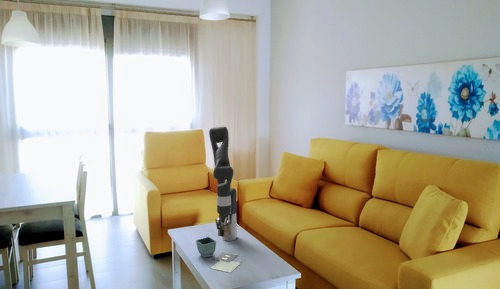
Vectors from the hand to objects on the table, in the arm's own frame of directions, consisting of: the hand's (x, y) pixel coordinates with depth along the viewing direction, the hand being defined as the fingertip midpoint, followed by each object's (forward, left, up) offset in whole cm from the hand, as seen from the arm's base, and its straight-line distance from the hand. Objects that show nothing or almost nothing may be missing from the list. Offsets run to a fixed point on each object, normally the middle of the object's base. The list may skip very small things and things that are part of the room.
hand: (224, 234), depth 203 cm
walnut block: (0, 0, 0) cm, 0 cm away
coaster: (0, 0, -18) cm, 18 cm away
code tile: (-9, -5, -18) cm, 21 cm away
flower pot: (-7, -17, -18) cm, 26 cm away
